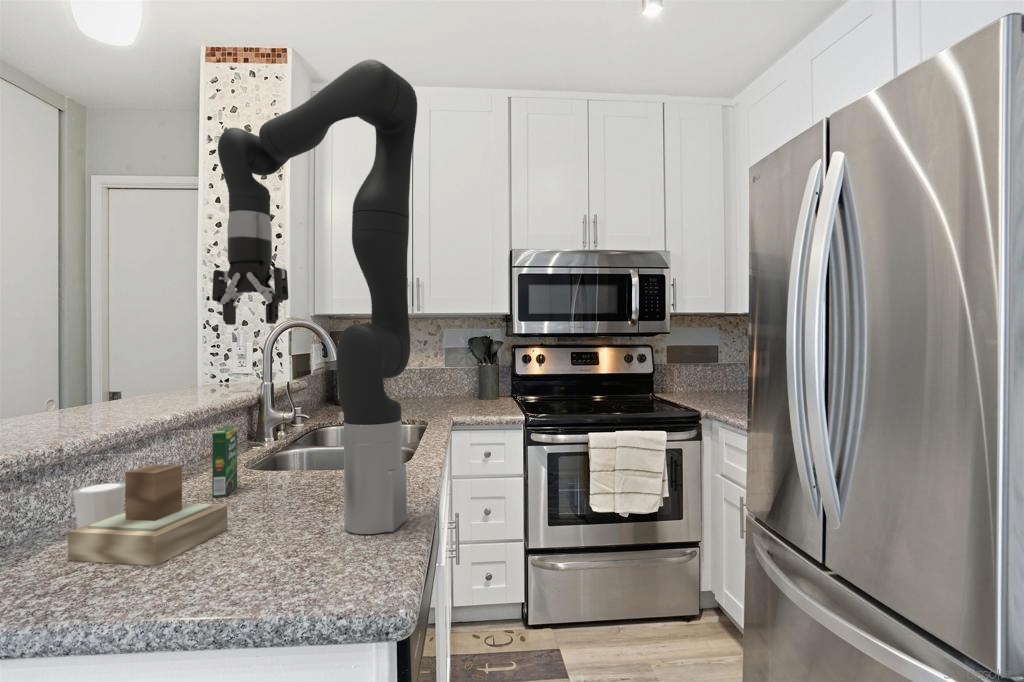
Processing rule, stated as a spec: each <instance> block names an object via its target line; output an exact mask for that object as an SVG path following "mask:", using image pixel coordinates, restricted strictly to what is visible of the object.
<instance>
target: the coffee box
mask: <svg viewBox="0 0 1024 682" xmlns="http://www.w3.org/2000/svg"><path fill="white" fill-rule="evenodd" d="M211 435H212V438H211V439H212V441H211V442H212V445H211V448H212V452H211V453H212V454H211V457H212V458H211V460H212V461H211V463H212V464H211V466H212V467H211V468H212V469H211V474H212V475H211V478H212V479H211V481H212V482H211V484H212V488H211V489H212V498H225V497H228V495H230V494H231V493H232V492H233V491H234V490H235V489H236V488H238V426H237V425H227V426H226V425H224V426H222V427H221V428H219V429H218V430H216V431H214V432H212V434H211Z"/></svg>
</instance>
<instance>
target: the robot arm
mask: <svg viewBox="0 0 1024 682" xmlns="http://www.w3.org/2000/svg"><path fill="white" fill-rule="evenodd" d="M357 117H358V118H359V119H360V120H362V121H363V122H366V123H368V124H369V125H371V126H373V127H374V129H375V153H374V154H375V155H374V160H373V164H372V167H371V169H370V171H369V172H368V175H367V176H366V177H365V179H364V180H363V182H362V184H361V186H360V187H359V189H358V191H357V193H356V195H355V197H354V201H353V204H352V211H351V212H352V220H351V244H352V248H353V252H354V255H355V258H356V260H357V263H358V265H359V268H360V270H361V272H362V275H363V277H364V279H365V281H366V284H367V287H368V290H369V295H370V302H371V317H370V318H371V319H370V320H371V321H370V322H371V323H355V324H352V325H349V326H347V327H346V328H345V329H344V330H343V331H342V333H341V335H340V336H339V339H338V341H337V346H336V354H335V355H336V358H335V359H336V375H337V394H338V402H339V406H340V408H341V410H342V413H343V473H344V474H343V477H344V478H343V484H344V487H343V488H344V495H343V496H344V501H343V502H344V514H343V515H344V530H346V532H348V533H352V534H356V535H374V534H382V533H393V532H395V531H396V530H398V528H399V527H400V526H402V525H403V524H404V523H405V522H406V521H407V518H408V516H407V503H408V502H407V500H408V499H407V498H408V497H407V464H406V463H403V458H402V457H403V454H402V453H403V452H402V450H403V449H402V444H403V443H402V442H403V441H402V407H401V403H400V402H398V401H397V400H395V399H392V398H390V397H389V396H388V395H387V393H386V391H385V386H384V383H385V382H384V379H392V378H395V377H398V376H400V375H401V374H402V373H403V372H404V371H405V370H406V368H407V365H408V363H409V360H410V358H411V357H410V356H411V355H410V354H411V333H410V332H411V331H410V319H409V304H408V249H409V238H410V237H409V236H410V234H409V233H410V190H411V187H410V185H411V171H412V170H411V167H412V157H413V150H414V149H413V147H414V141H415V133H416V132H415V131H416V127H417V126H416V125H417V117H418V97H417V94H416V91H415V90H414V87H413V86H412V85H411V83H409V82H408V80H406V79H405V78H404V77H402V76H401V75H400V74H399V73H397V72H395V70H393V69H392V68H390V67H389V66H388V65H386V64H384V62H381V61H379V60H376V59H365V60H362V61H360V62H358V63H355V64H354V65H353V66H351V67H349V68H348V69H347V70H345V71H344V72H343V73H341V75H339V76H338V77H336V78H335V79H333V80H332V81H331V82H330V83H328V84H327V85H325V86H324V87H323V88H321V89H320V90H319V91H318V92H316V94H315V95H313V96H312V97H310V98H309V99H308V100H306V101H304V102H303V103H302V104H300V105H299V106H297V107H295V108H293V109H291V110H289V111H287V112H285V113H282V114H280V115H278V116H276V117H274V118H272V119H269V120H268V121H266V122H264V123H263V124H262V125H261V126H260V128H259V133H258V135H256V134H255V133H252V132H249V131H246V130H245V129H242V128H239V127H229V128H227V129H225V130H223V132H222V133H221V135H220V137H219V139H218V142H217V143H218V144H217V153H218V154H217V155H218V159H219V162H220V167H221V170H222V173H223V177H224V180H225V184H226V187H227V190H228V218H227V228H226V229H227V261H228V263H229V268H228V270H219V269H215V270H213V273H212V274H213V277H212V295H211V299H212V301H213V302H217V303H220V304H221V305H222V320H223V322H224V324H225V326H235V325H236V323H237V313H236V312H237V310H236V309H237V305H236V302H238V300H239V298H240V297H242V296H243V295H244V294H250V293H259V294H260V295H261V296H262V297H263V298H264V300H265V301H266V302H267V303H265V323H266V324H268V325H269V324H270V325H275V324H277V321H278V320H279V304H280V303H281V302H283V301H287V300H289V285H288V271H287V269H286V268H281V267H278V266H277V267H276V266H275V267H274V268H273V269H272V268H271V265H272V263H273V247H272V246H273V243H272V242H273V240H272V239H273V232H272V231H273V230H272V224H271V223H272V220H271V195H270V190H269V189H268V188H267V186H265V185H263V183H260V182H259V181H258V180H256V178H255V177H254V175H256V176H263V177H265V176H270V175H273V174H275V173H277V172H278V171H279V170H280V169H281V168H282V167H283V166H284V165H285V164H286V163H287V162H288V161H289V160H290V159H292V158H295V157H297V156H299V155H302V154H304V153H305V154H306V153H307V152H309V151H311V150H313V149H315V148H316V147H317V146H318V145H320V144H321V143H322V142H323V140H324V139H325V137H326V135H327V133H328V131H329V129H330V128H331V126H333V125H334V124H335V123H337V122H339V121H342V120H347V119H351V118H357ZM271 279H272V280H273V282H274V284H273V285H274V287H273V286H272V284H271V283H270V281H271ZM229 281H230V282H229ZM228 283H229V284H228Z"/></svg>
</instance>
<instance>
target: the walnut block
mask: <svg viewBox="0 0 1024 682" xmlns="http://www.w3.org/2000/svg"><path fill="white" fill-rule="evenodd" d="M124 474H125V475H124V478H125V500H124V508H125V511H124V512H125V520H146V521H156V520H159V519H161V518H164V517H166V516H169V515H171V514H174V513H176V512H179V511H181V510H182V503H183V465H182V464H155V463H154V464H150V465H147V466H142V467H138V468H136V469H131V470H128V471H125V472H124Z"/></svg>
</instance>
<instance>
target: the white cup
mask: <svg viewBox="0 0 1024 682" xmlns="http://www.w3.org/2000/svg"><path fill="white" fill-rule="evenodd" d="M73 502H74V507H75V508H74V509H75V510H74V511H75V518H76V526H77V528H80V527H83V526H86V525H88V524H91V523H94V522H97V521H100V520H103V519H105V518H108V517H111V516H114V515H117V514H120V513H122V512H124V508H125V483H124V482H105V483H104V482H103V483H97V484H91V485H87V486H84V487H83V486H82V487H80V488H77V489H75V490H74V491H73Z"/></svg>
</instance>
